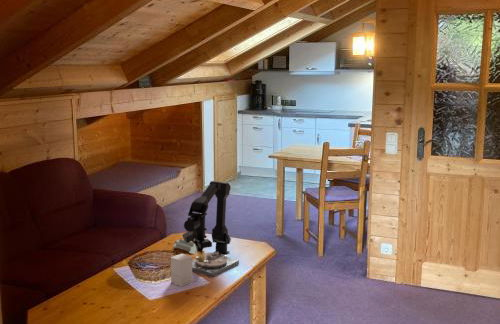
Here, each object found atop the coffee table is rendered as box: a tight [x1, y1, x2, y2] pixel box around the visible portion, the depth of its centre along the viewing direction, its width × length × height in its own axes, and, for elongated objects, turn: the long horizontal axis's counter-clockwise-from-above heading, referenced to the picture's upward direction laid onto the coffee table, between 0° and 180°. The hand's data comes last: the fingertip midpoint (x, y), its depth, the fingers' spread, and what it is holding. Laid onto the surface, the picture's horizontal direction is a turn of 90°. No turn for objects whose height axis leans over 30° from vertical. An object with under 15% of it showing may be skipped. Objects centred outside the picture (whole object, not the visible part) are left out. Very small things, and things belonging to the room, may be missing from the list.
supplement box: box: [170, 253, 193, 287], centre depth 251 cm, size 7×7×13 cm
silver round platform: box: [195, 250, 228, 268], centre depth 272 cm, size 16×16×7 cm
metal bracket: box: [172, 238, 197, 255], centre depth 297 cm, size 14×6×15 cm
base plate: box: [192, 256, 240, 278], centre depth 273 cm, size 22×19×2 cm
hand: (199, 254), depth 270 cm, fingers closed
